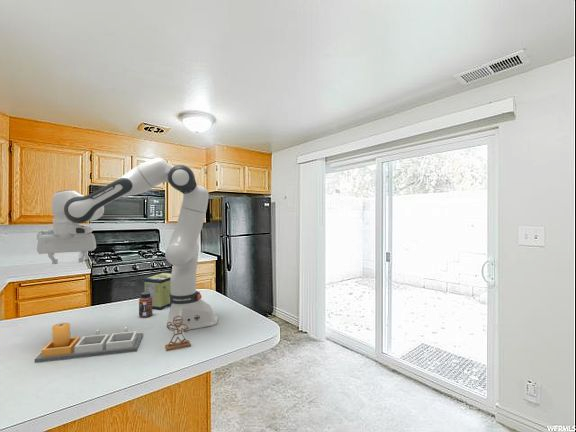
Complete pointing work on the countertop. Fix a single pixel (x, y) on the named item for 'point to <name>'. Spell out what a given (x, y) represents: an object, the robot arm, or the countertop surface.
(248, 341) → the countertop surface
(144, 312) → the supplement bottle
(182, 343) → the gingerbread man figurine
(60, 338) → the cap
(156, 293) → the protein box
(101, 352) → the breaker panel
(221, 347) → the countertop surface
